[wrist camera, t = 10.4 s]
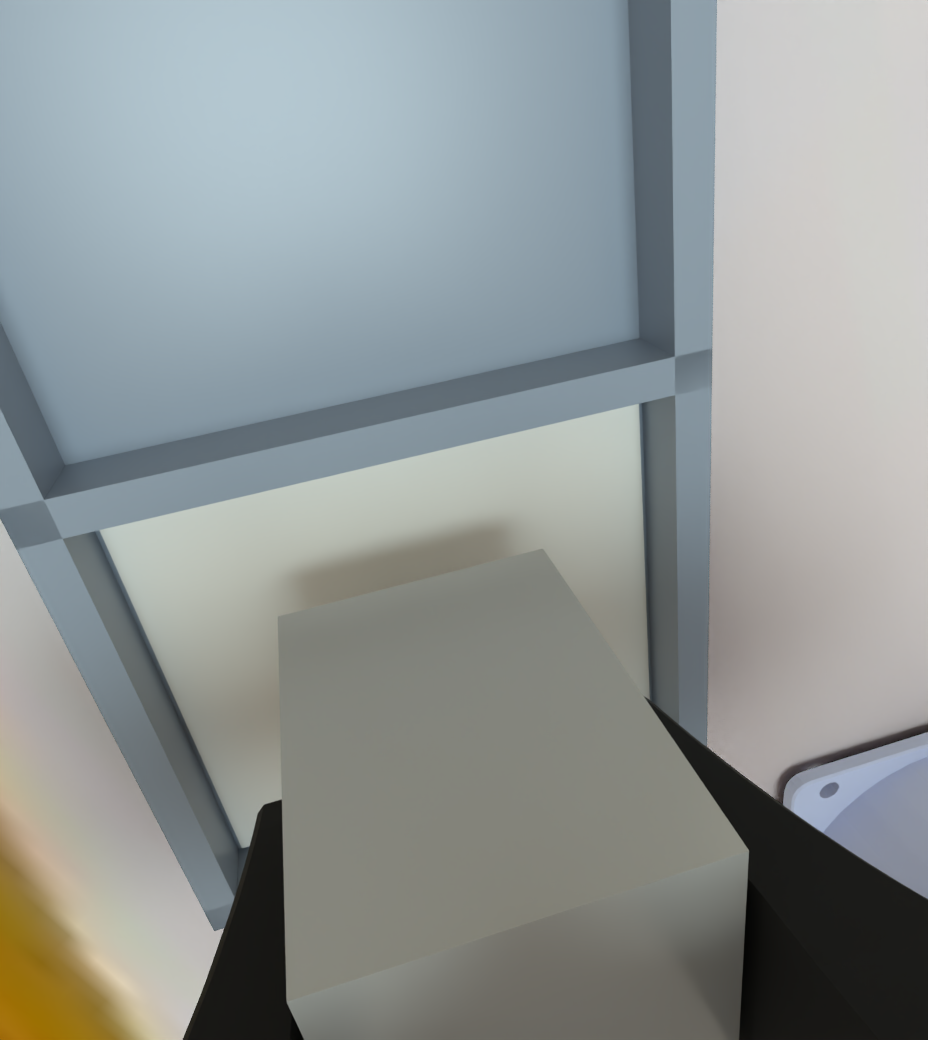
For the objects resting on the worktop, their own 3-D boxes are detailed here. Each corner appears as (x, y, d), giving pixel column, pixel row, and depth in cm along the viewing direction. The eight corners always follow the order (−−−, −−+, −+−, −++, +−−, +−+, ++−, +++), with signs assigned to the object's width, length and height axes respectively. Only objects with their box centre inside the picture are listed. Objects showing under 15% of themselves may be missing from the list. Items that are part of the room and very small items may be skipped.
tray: (645, -576, 8) (726, -729, 6) (669, 725, 17) (706, 777, 16) (-442, -526, 6) (-635, -708, 5) (218, 860, 16) (214, 931, 14)
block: (543, 548, 11) (749, 851, 6) (564, 741, 13) (737, 1084, 8) (277, 616, 11) (286, 1001, 6) (340, 807, 13) (386, 1215, 8)
